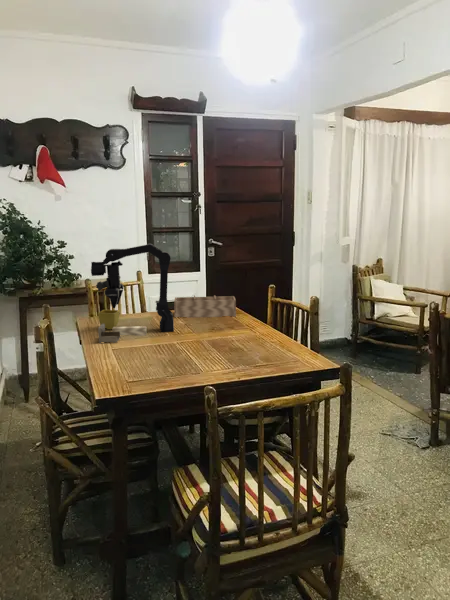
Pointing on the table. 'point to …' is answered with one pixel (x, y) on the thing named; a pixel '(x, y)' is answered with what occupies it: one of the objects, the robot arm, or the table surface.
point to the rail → (131, 330)
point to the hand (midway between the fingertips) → (115, 306)
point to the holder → (205, 306)
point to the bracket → (107, 335)
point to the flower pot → (109, 318)
